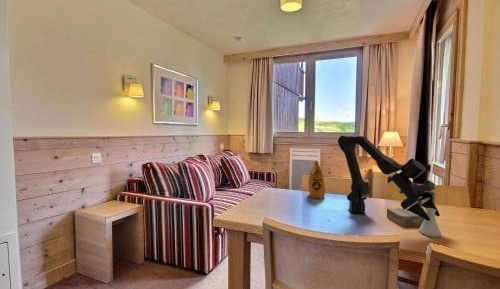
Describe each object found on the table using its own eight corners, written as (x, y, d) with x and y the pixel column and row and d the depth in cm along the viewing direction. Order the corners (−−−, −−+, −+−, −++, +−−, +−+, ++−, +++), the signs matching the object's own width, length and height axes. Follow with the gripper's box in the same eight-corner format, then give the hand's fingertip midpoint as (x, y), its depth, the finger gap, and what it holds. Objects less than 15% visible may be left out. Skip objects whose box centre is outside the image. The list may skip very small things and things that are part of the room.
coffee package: (307, 198, 157) (308, 162, 155) (308, 193, 169) (309, 159, 167) (324, 199, 154) (325, 162, 153) (324, 194, 166) (325, 160, 165)
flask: (414, 230, 107) (415, 206, 106) (431, 230, 108) (432, 206, 107) (428, 237, 100) (429, 212, 99) (445, 237, 100) (446, 211, 100)
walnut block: (400, 225, 113) (400, 216, 112) (386, 216, 124) (387, 208, 123) (425, 225, 113) (425, 216, 112) (409, 216, 124) (410, 208, 123)
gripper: (409, 176, 100) (442, 211, 92) (430, 171, 111) (461, 203, 102) (388, 192, 107) (417, 226, 99) (410, 186, 118) (437, 217, 109)
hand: (434, 218), depth 102 cm, fingers open, 9 cm apart
